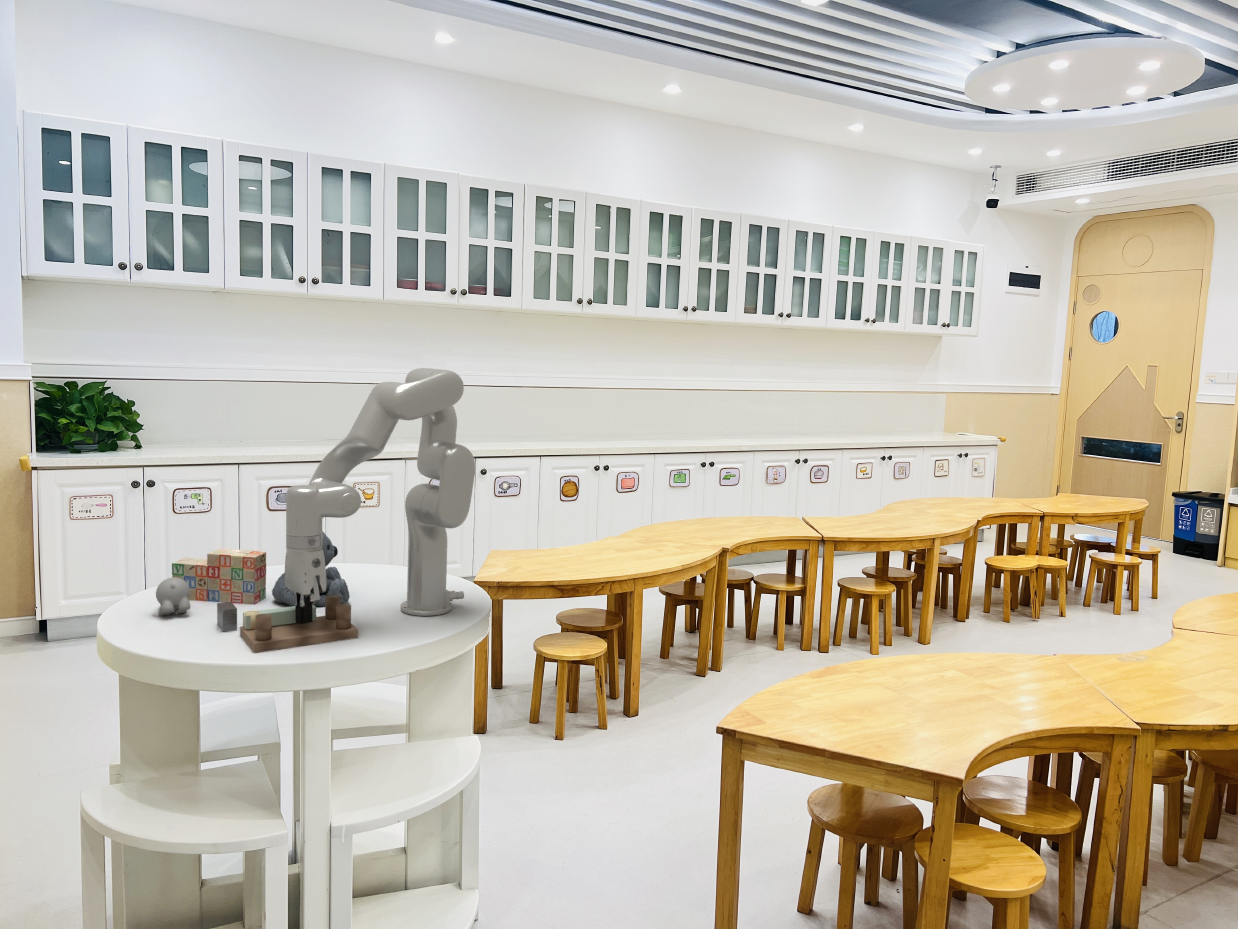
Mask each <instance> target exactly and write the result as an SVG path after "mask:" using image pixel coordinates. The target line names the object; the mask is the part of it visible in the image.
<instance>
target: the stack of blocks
mask: <svg viewBox="0 0 1238 929" xmlns="http://www.w3.org/2000/svg"><path fill="white" fill-rule="evenodd" d="M171 575H172V576H171V578H174V577H175V578H180V579H183V580H184V581H185V582H186V583H187V584H188V585H189V587H190V597H189V599H188V600H189V601H198V602H199V601H200V602H213V603H224V602H232V603H233V604H241V605H242V604H243V605H256V604H259V603H260V602H262V601H263V600H265V599H266V598H267V596H266V595H267V587H266V586H267V581H266V580H267V551H258V550H257V551H255V550H252V549H232V548H218V549H215V550H212V551H211V552H208V553H207V554H206V558H196V557H195V558H194V557H184V558H181V559H179V560H177V561H176V560H175V561H174V562H172V563H171Z"/></svg>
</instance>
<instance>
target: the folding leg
mask: <svg viewBox="0 0 1238 929" xmlns="http://www.w3.org/2000/svg"><path fill="white" fill-rule="evenodd" d="M258 614H271V615H272V626H276V625H284V624H291V623H296V622H295V606H286V607H277V608H270V609H269V608H268V609H260V610H259V609H258V610H247V611H244V612H242V626H244V628H245V629H255V616H256V615H258ZM316 617H317V606H314V605H312V621H314V620H316Z"/></svg>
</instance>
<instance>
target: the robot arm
mask: <svg viewBox="0 0 1238 929" xmlns="http://www.w3.org/2000/svg"><path fill="white" fill-rule="evenodd" d="M464 391H465V387H464V382H463V380H462V378H461V376H460V375H459V374H458V373H456V372H454V371H452V370H449V369H439V368H427V367H425V368H424V367H419V368H415V369H412V370H410V371H409V372H408V373H407V374H406V377H405V381H404V382H398V381H396V382H395V381H382V382H380V383H377V384H376V385H375V386H374V387H373V388H372V389H371V392H370V393H369V394H368V397H367V399H366V401H365V402H364V404H363V406H362V408H361V409H360V412H359V414H358V415H357V417H356V419H355V421H354V423H353V425H352V426H351V429H350V431H349V432H348V434H347V435H346V436H345V437H344V438H343V439H342V440H341V441H340V442H338V443H337V444H336V445H335V447H333V448H332V449H331V450H330V451H329V452H328V453H327V454H326V455H325V456H324V457H323V459H321V461H320V463H319V464H318V466H317V468H316V469H315V471H314V473H313V475H312V477H311V479H310V481H309V483H308V484H300V485H293V486H290V487H289V488H288V489H287V490H286V496H285V498H286V499H285V506H286V507H285V508H286V509H285V516H286V518H285V522H286V523H285V526H286V527H285V549H286V553H285V557H284V558H285V560H284V561H285V562H284V572H285V586H286V587H287V588H288V589H289V592H290V593H292V594H293V596H294V604H295V605H296V606H295V622H296V623H298V624H305V623H310V622H312V605H314V601H318V600H320V596H319V592H321V593H323V592H325V591H326V568H327V566H325V558H324V552H323V549H322V531H323V519H324V518H337V519H338V518H340V519H343V518H349V517H351V516H352V515H354V514H356V513H357V512H358V510H359V509H360V507H361V504H362V497H361V495H360V493H359V492H358V490H357V489H356V488H355V487H353V486H351V485H349V484H347V483H346V484H345V483H343V482H344V481H345V479H346V478H347V476H348V475H349V473H350V472H352V471H353V469H355V468H356V467H357V466H358V465H360V464H362V463H365V462H366V461H369V460H371V459H373V458H375V457H376V456H379V455H380V454H381V453H382V452H384V449H385V448H386V445H387V443H388V441H389V439H390V437H391V435H392V434H393V431H394V430H395V428H396V426H397V424H398V422H399V420H403V421H414V420H418V419H421V431H420V438H419V446H418V452H417V459H416V467H417V470H418V472H419V473H420V474H421V475H422V476H424V477H425V478H428V479H432V480H435V481H439V484H438V485H437V484H431V483H420V484H417V485H415V486H413V487H412V488H411V489H409V491H408V493H407V495H406V497H405V500H404V508H405V510H404V511H405V516H406V521H407V533H408V534H407V536H408V537H407V540H408V542H407V543H408V544H407V546H408V547H407V582H406V584H407V587H406V588H407V589H406V590H407V591H406V592H407V593H406V600H405V601H403V602H401V603H400V611H401V612H402V613H405V614H408V615H411V616H421V617H424V616H425V617H427V616H429V617H430V616H438V615H444V614H446V613H449V612H451V611H452V609H453V603H452V602H453V601H455V600H463V599H465V593H464V591H456V590H448V589H447V572H448V571H447V570H448V569H447V567H448V566H447V565H448V563H447V562H448V533H447V529H455V528H456V529H457V528H458V527H460V526H461V525H463V524H464V522H465V521H466V519H467V517H468V514H469V513H470V508H471V502H472V497H473V496H472V495H473V488H474V482H475V474H476V462H475V458H474V455H473V453H472V452H471V450H470V448H468V447H467V446H465V445H462V444H458V443H456V442H457V440H456V439H457V429H458V418H457V412H456V409H455V407H454V405H455V404H457V403H458V402H459V401H460V400H461V399H462V396H463V394H464Z"/></svg>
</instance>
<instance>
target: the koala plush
mask: <svg viewBox="0 0 1238 929" xmlns="http://www.w3.org/2000/svg"><path fill="white" fill-rule="evenodd" d="M322 549H323V552H324V558H325V566H326V591H325V592H323V593H321V592H319V596H320V600H318V601H314V606H315V607H324V608H325V597H326V596H329V595H338V596H340V604H346V603H348V602H349V600H350V592H349V589H348V585H347V584H348V583H347V582H346V580H345V579H344V578H342V576H341V574H340V572H339V571H338V570H339V569H338V567H336V566H330V567H328V566H329V565H330V563H331V562H332V560H333V559H334V558H336V557H337V556H338V552H339V550H338V548H337V546H335V545H333V543H332V540H331V539H330V538H329V537H328V535H326V533H325V532H324V531H323V530H322ZM271 595H272V596H273V599H274V600H275V601H276V602H278V603H279V604H283V605H284V604H285V605H286V604H287V605H288V606H290V607H292V606H296V605H295V604H294V596H293V594H292V593H290V592H289V589H288V588H287V587H286V586H285V571H284V572H283V573H282V574H281V575H280V576H279V577H278V579H277V580H276V581H275V584H274V586H273V587H272V590H271Z"/></svg>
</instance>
